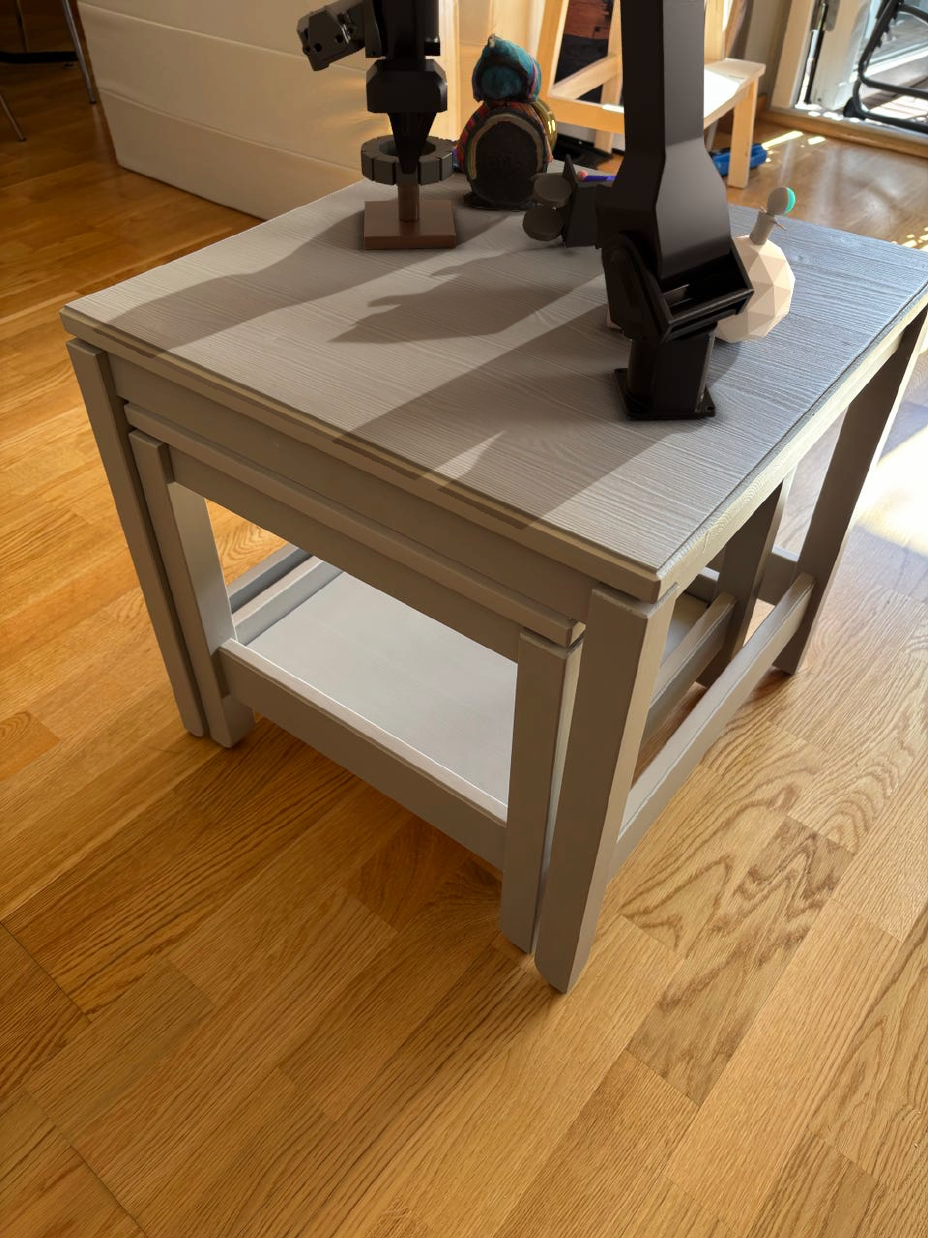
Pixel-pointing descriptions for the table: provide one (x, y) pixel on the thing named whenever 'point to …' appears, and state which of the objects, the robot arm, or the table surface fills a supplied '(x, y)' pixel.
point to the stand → (409, 222)
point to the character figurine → (564, 206)
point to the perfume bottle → (762, 275)
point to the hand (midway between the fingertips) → (407, 169)
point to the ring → (385, 164)
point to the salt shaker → (546, 120)
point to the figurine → (503, 130)
